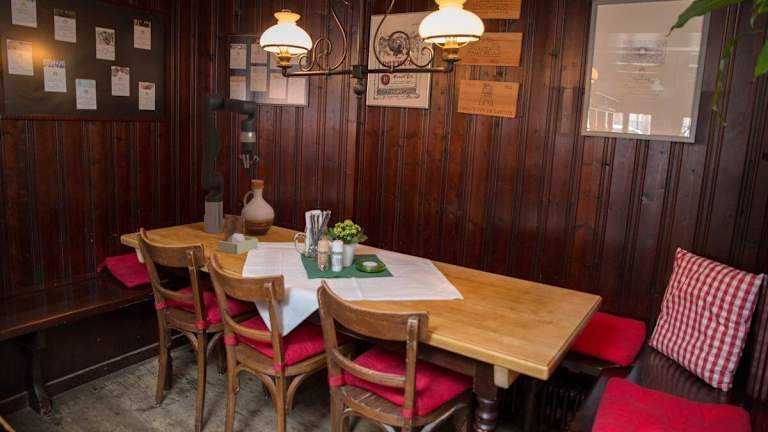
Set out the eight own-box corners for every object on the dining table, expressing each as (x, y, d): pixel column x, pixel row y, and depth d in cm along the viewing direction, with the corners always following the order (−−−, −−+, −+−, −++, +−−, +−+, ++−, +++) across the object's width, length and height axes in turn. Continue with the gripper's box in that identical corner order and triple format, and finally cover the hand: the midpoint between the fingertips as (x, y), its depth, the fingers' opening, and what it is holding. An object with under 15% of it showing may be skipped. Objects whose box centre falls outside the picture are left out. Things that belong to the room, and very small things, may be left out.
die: (250, 250, 285) (245, 232, 288) (244, 245, 276) (239, 227, 280) (234, 255, 284) (229, 238, 287) (228, 251, 276) (223, 233, 279)
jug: (232, 234, 315) (231, 179, 310) (256, 229, 330) (255, 177, 324) (257, 239, 305) (257, 183, 299) (281, 234, 319) (281, 180, 314)
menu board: (222, 241, 297) (221, 215, 294) (228, 240, 301) (228, 213, 299) (240, 244, 292) (240, 217, 289) (247, 242, 296) (247, 216, 294)
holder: (218, 251, 277) (218, 241, 277) (239, 245, 291) (239, 235, 290) (237, 254, 273) (237, 244, 272) (257, 247, 286) (257, 238, 285)
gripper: (263, 141, 289) (263, 175, 292) (242, 140, 294) (242, 173, 297) (253, 141, 282) (254, 177, 285) (232, 140, 287) (233, 174, 291)
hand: (248, 175), depth 291 cm, fingers closed
